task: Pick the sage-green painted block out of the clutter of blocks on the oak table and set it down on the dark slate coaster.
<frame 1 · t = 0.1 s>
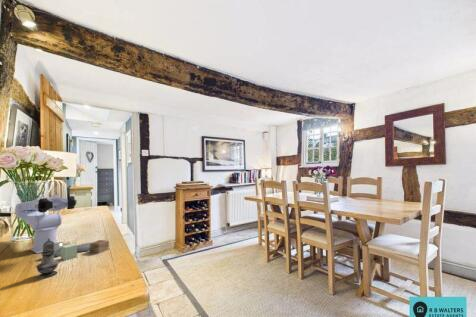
hand: (63, 203, 90), 22 cm above the table, tool horizontal, fingers open, 7 cm apart
terracotta block: (61, 251, 97), on the table
sage block: (68, 258, 89), on the table
walnut block: (99, 251, 97), on the table
dark grey tall piece: (47, 275, 74), on the table
grey tin: (56, 256, 92), on the table
coaster: (86, 248, 101), on the table
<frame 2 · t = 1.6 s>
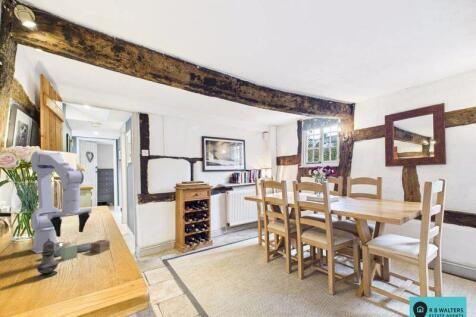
hand: (69, 234, 90), 9 cm above the table, tool pointing down, fingers open, 7 cm apart
nothing on the table moved.
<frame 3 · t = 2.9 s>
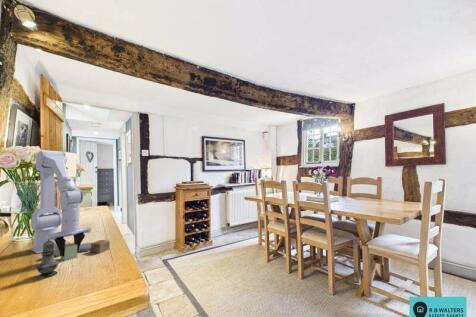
hand: (69, 254, 90), 1 cm above the table, tool pointing down, fingers closed on sage block, 4 cm apart
sage block: (69, 257, 89), on the table, touching gripper
everything else where it was.
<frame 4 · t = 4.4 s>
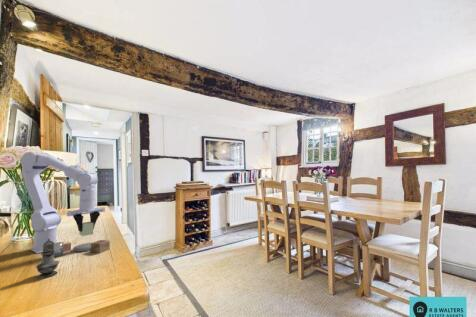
hand: (86, 229, 101), 8 cm above the table, tool pointing down, fingers closed on sage block, 4 cm apart
sage block: (86, 234, 100), point 7 cm above the table, touching gripper
everything else where it was.
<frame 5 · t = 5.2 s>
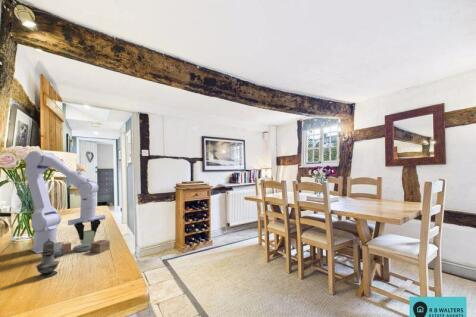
hand: (87, 238, 101), 4 cm above the table, tool pointing down, fingers closed on sage block, 4 cm apart
sage block: (87, 242, 101), point 3 cm above the table, touching gripper
everything else where it was.
when the fingers open (3 cm above the table, at t = 5.8 s): sage block stays where it is, resting on coaster.
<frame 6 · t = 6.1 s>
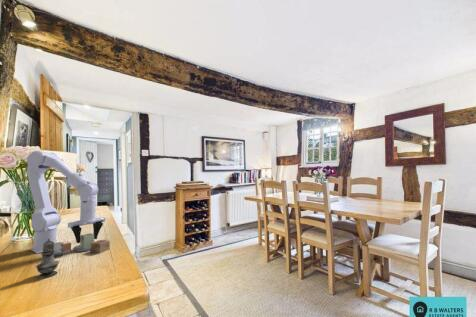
hand: (86, 240, 101), 3 cm above the table, tool pointing down, fingers open, 6 cm apart
sage block: (87, 246, 101), point 1 cm above the table, touching coaster
everything else where it was.
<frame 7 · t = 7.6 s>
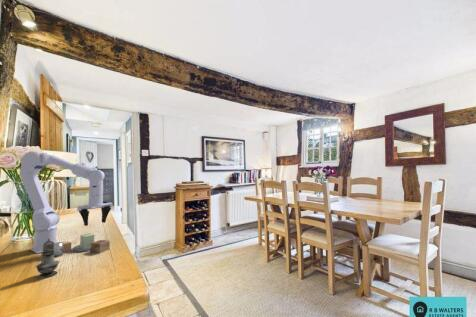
hand: (95, 223, 106), 10 cm above the table, tool pointing down, fingers open, 7 cm apart
nothing on the table moved.
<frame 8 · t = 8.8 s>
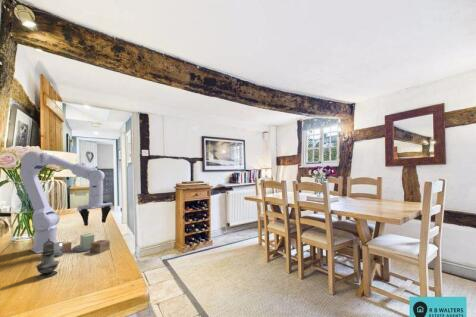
hand: (95, 223, 106), 10 cm above the table, tool pointing down, fingers open, 7 cm apart
nothing on the table moved.
at the end: sage block inside the target area on the coaster (0.3 cm from its centre), point 1.0 cm above the coaster's base; sage block tilted 0°; the gripper is holding nothing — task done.
